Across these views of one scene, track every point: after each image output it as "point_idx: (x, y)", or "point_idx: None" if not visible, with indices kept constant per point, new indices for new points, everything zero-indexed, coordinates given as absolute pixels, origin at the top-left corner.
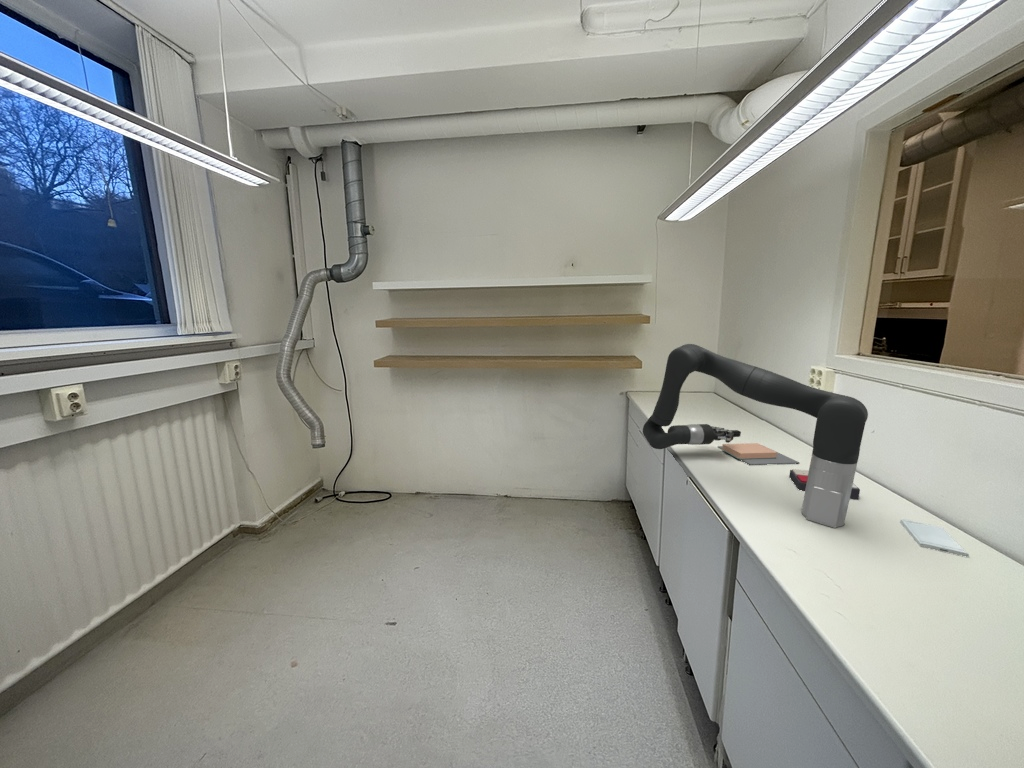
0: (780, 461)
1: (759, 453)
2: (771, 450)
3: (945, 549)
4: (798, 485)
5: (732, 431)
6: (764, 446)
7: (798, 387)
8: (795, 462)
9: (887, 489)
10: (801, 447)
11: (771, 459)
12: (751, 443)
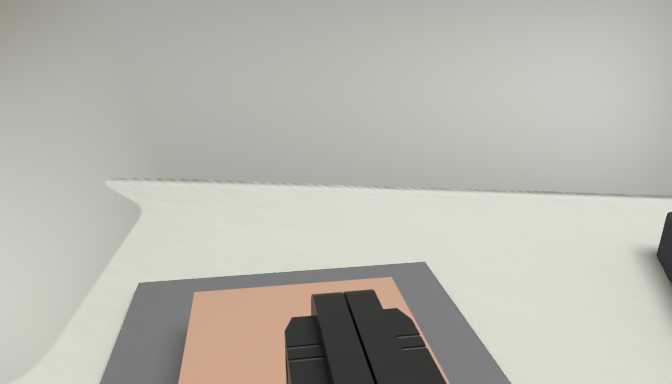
0: (439, 319)
1: (440, 371)
2: (356, 285)
3: None
4: None
5: (415, 381)
6: (273, 286)
7: None
8: (431, 273)
9: (604, 196)
10: (199, 198)
11: None
12: (195, 323)
